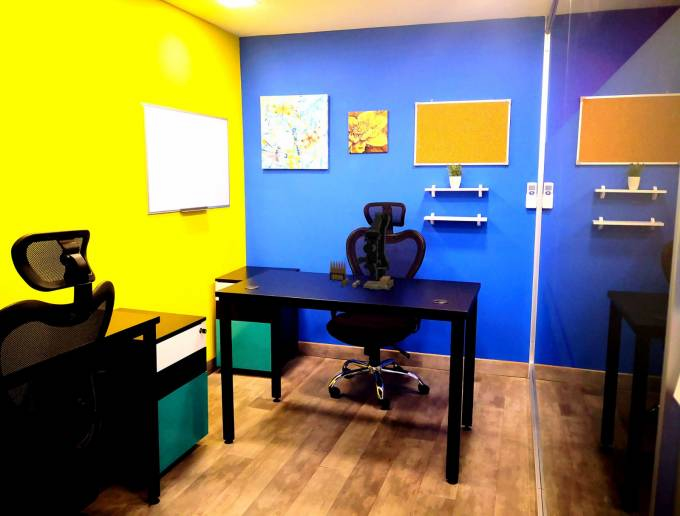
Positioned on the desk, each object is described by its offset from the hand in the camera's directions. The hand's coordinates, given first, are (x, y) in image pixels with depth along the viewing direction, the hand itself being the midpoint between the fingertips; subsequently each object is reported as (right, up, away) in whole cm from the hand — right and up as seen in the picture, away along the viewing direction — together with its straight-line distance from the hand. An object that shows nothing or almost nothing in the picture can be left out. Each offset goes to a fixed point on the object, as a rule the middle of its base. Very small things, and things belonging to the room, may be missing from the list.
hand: (372, 279), depth 307 cm
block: (+7, -3, -2) cm, 8 cm away
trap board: (-2, -4, +1) cm, 5 cm away
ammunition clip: (-19, -2, +17) cm, 26 cm away
